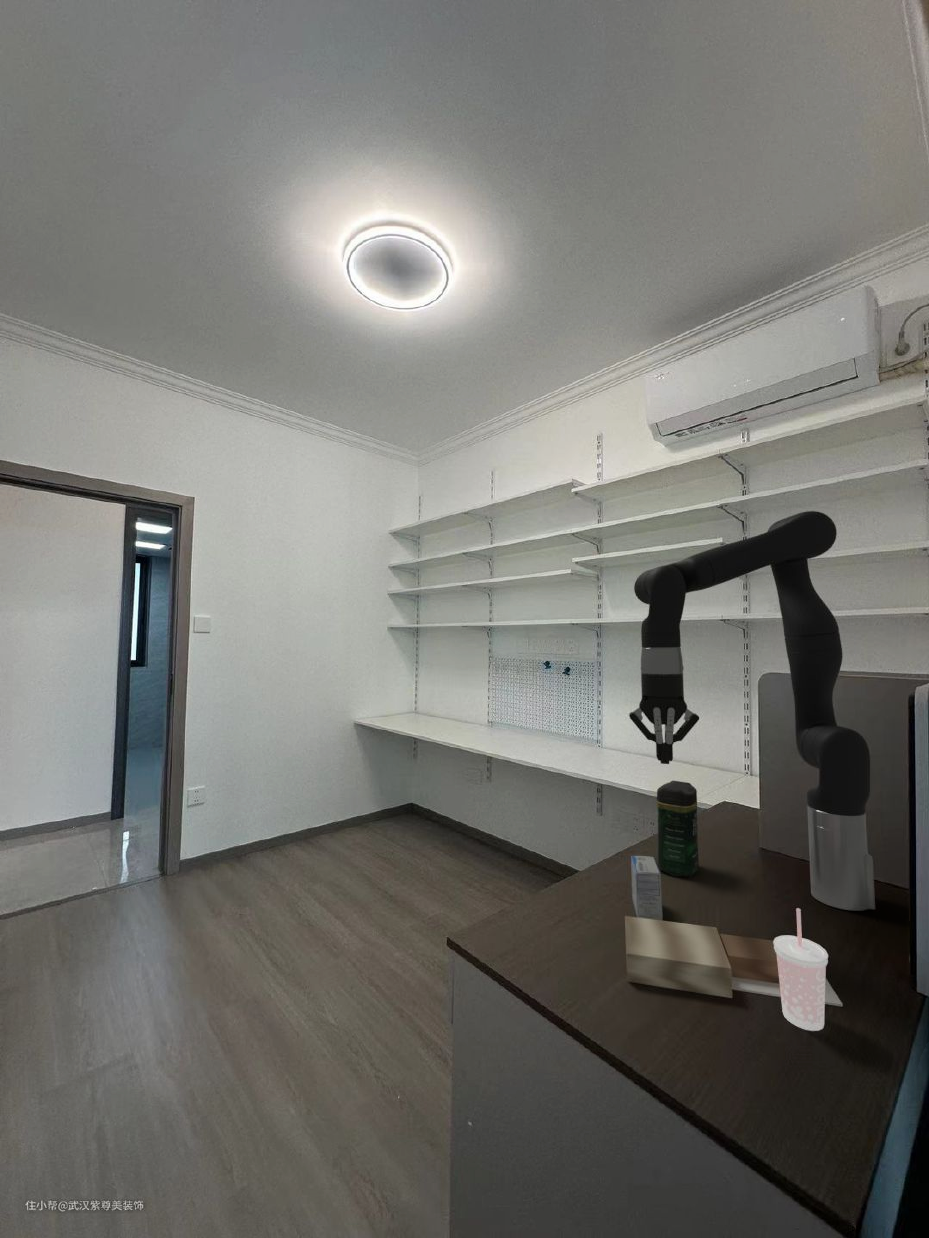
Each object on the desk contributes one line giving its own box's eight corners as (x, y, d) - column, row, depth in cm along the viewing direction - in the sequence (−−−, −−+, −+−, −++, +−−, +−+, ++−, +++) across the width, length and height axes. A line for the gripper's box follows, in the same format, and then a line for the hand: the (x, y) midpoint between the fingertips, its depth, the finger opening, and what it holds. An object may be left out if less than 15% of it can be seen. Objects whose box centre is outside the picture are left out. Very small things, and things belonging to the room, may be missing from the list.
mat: (817, 967, 79) (817, 965, 79) (842, 1006, 71) (842, 1004, 71) (717, 953, 83) (717, 951, 83) (729, 988, 74) (729, 986, 74)
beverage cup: (804, 1039, 65) (799, 923, 66) (765, 1006, 71) (761, 900, 72) (843, 1030, 66) (838, 917, 67) (802, 998, 72) (797, 895, 73)
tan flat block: (717, 953, 83) (716, 927, 83) (732, 998, 72) (731, 968, 73) (625, 940, 87) (624, 915, 87) (627, 981, 76) (626, 953, 76)
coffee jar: (693, 881, 108) (690, 791, 109) (654, 872, 113) (651, 785, 114) (703, 865, 116) (700, 781, 117) (666, 857, 121) (663, 776, 122)
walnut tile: (784, 961, 80) (783, 941, 80) (798, 986, 74) (797, 964, 74) (720, 953, 83) (719, 933, 83) (729, 976, 77) (728, 955, 77)
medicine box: (663, 923, 92) (661, 873, 92) (636, 921, 93) (635, 871, 93) (655, 902, 100) (654, 856, 100) (631, 900, 101) (630, 854, 101)
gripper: (696, 670, 101) (699, 760, 100) (625, 670, 105) (627, 757, 104) (702, 672, 94) (706, 769, 93) (626, 672, 98) (628, 765, 97)
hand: (664, 762), depth 98 cm, fingers closed
